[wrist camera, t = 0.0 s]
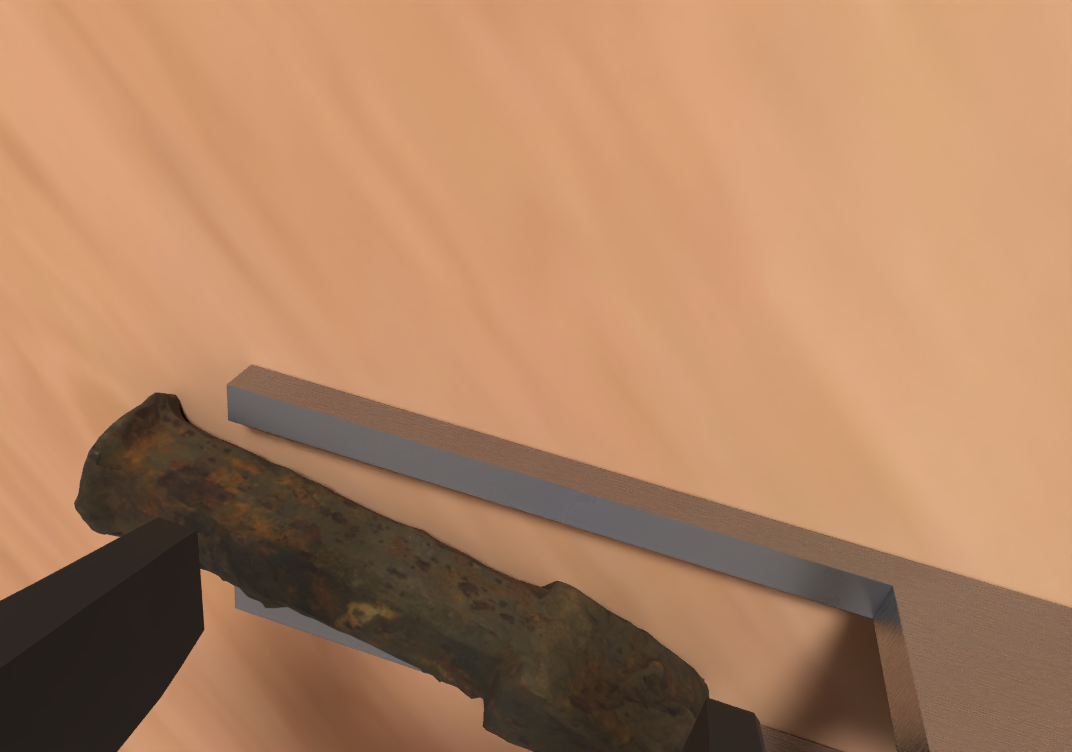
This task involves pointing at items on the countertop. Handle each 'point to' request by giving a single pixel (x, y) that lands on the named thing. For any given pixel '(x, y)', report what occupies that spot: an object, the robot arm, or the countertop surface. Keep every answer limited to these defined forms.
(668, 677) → the dark brown log
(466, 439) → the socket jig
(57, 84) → the countertop surface
